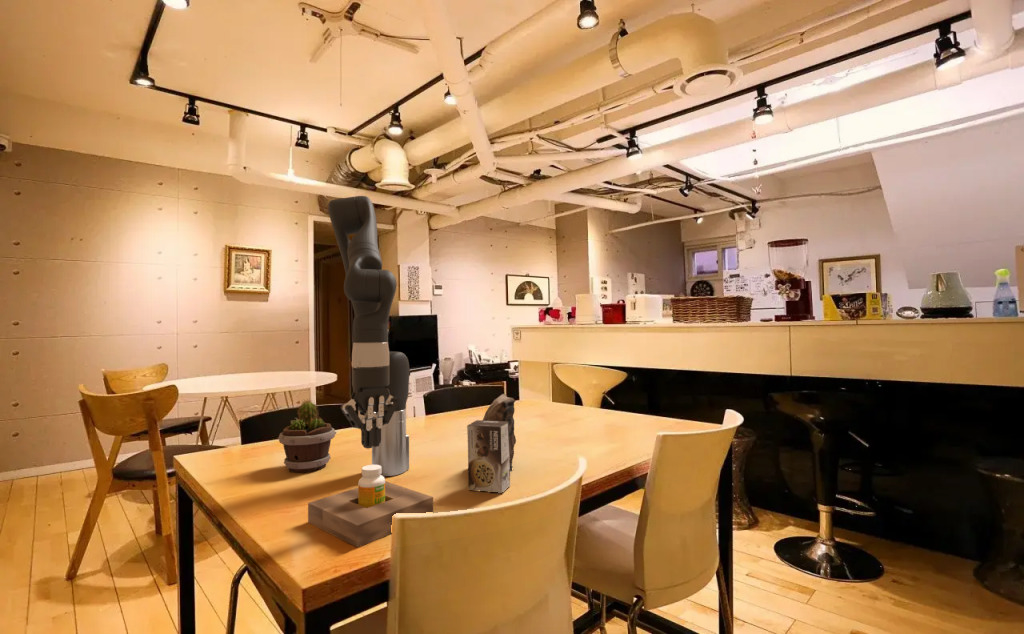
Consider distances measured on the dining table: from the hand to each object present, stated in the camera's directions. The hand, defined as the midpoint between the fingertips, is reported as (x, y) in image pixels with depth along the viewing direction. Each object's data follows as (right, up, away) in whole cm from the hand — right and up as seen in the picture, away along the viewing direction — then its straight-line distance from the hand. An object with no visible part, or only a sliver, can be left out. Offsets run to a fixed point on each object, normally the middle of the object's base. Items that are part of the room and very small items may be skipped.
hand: (371, 446), depth 98 cm
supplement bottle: (0, -14, 0) cm, 14 cm away
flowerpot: (-29, -16, +36) cm, 49 cm away
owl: (+24, -16, +36) cm, 46 cm away
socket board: (0, -15, 0) cm, 15 cm away
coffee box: (+24, -15, +18) cm, 33 cm away
